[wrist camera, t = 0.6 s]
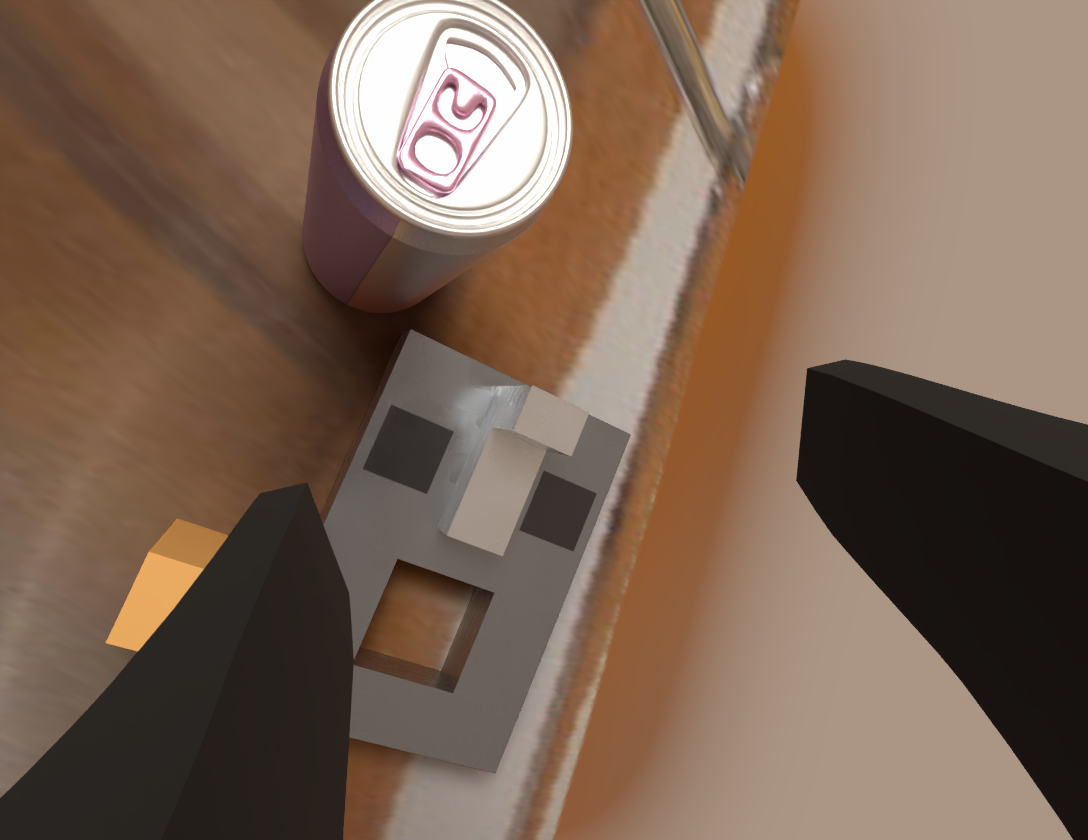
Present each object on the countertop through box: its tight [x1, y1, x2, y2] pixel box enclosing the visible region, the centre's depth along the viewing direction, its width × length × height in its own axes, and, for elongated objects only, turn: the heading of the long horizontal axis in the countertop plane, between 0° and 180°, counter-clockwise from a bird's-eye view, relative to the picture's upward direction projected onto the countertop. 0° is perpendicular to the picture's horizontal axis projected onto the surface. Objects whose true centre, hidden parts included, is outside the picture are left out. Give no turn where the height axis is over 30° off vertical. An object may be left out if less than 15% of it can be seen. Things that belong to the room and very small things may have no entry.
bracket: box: [437, 385, 589, 556], centre depth 27 cm, size 6×2×4 cm, turn 157°
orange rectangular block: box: [106, 518, 229, 651], centre depth 24 cm, size 3×3×6 cm
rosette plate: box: [320, 329, 631, 773], centre depth 30 cm, size 16×11×2 cm
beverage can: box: [303, 0, 573, 313], centre depth 22 cm, size 6×6×15 cm
